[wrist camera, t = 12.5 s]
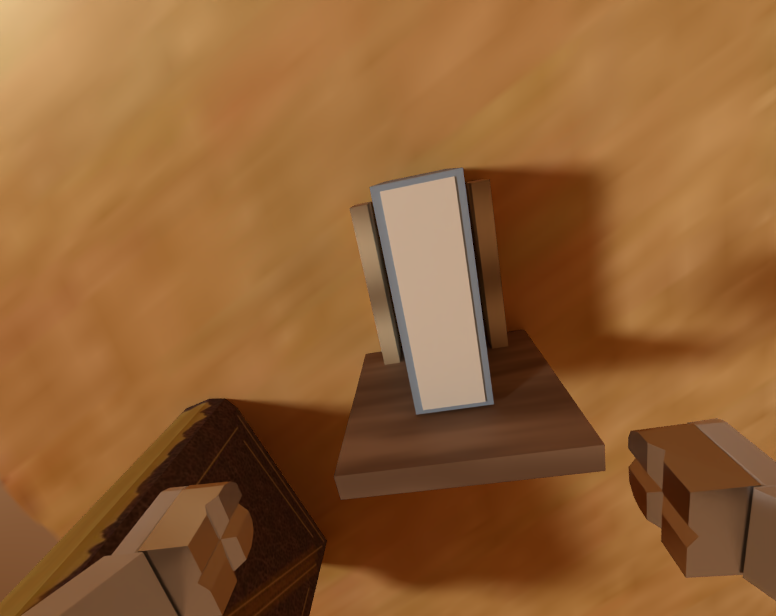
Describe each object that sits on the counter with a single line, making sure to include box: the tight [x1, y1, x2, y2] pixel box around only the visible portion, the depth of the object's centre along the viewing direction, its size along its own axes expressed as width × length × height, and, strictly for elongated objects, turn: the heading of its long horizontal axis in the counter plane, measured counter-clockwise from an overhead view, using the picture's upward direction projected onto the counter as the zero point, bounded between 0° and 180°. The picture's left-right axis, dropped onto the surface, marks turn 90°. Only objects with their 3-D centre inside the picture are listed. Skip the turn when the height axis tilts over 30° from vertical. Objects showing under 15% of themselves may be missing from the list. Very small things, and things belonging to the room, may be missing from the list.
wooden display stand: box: [334, 179, 605, 500], centre depth 24 cm, size 14×13×14 cm
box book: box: [370, 168, 494, 415], centre depth 25 cm, size 13×4×10 cm, turn 11°
